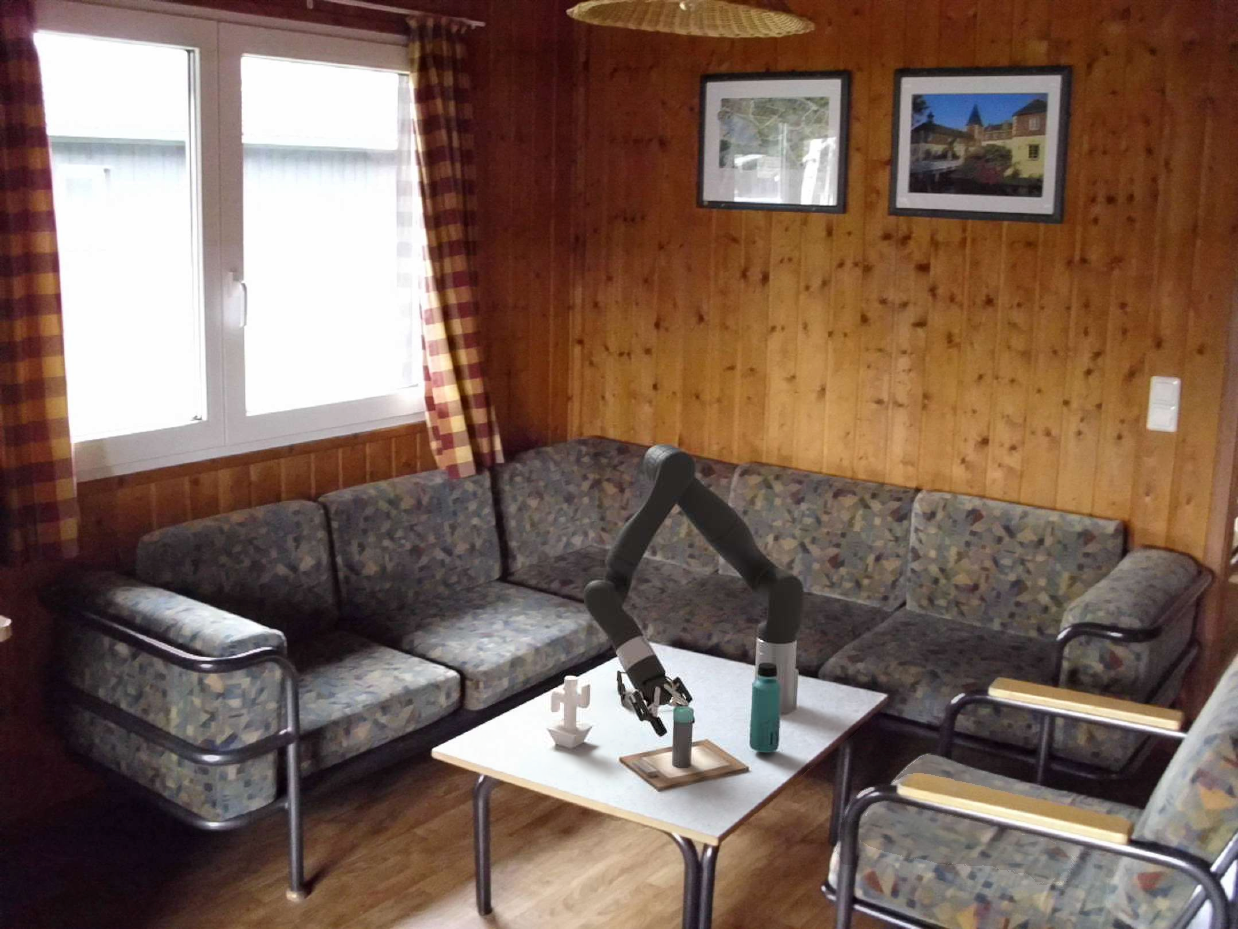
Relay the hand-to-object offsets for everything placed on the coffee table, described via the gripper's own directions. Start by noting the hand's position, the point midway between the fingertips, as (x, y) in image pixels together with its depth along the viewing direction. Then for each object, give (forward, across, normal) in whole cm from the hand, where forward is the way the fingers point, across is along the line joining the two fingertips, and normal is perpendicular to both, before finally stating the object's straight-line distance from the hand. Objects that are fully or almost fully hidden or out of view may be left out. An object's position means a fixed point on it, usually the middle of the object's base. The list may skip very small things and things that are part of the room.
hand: (678, 729), depth 280 cm
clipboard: (+6, +1, +5) cm, 8 cm away
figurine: (-11, -9, +23) cm, 27 cm away
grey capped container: (+6, 0, +4) cm, 7 cm away
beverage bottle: (+11, +19, 0) cm, 22 cm away
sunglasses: (-15, +24, +28) cm, 40 cm away
